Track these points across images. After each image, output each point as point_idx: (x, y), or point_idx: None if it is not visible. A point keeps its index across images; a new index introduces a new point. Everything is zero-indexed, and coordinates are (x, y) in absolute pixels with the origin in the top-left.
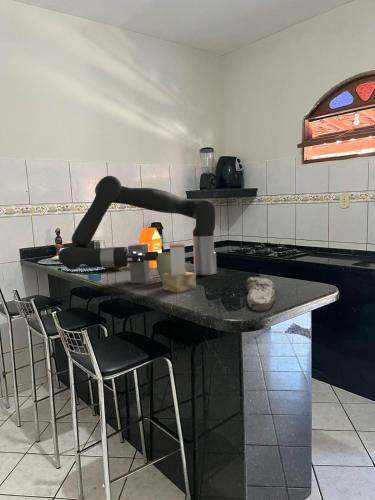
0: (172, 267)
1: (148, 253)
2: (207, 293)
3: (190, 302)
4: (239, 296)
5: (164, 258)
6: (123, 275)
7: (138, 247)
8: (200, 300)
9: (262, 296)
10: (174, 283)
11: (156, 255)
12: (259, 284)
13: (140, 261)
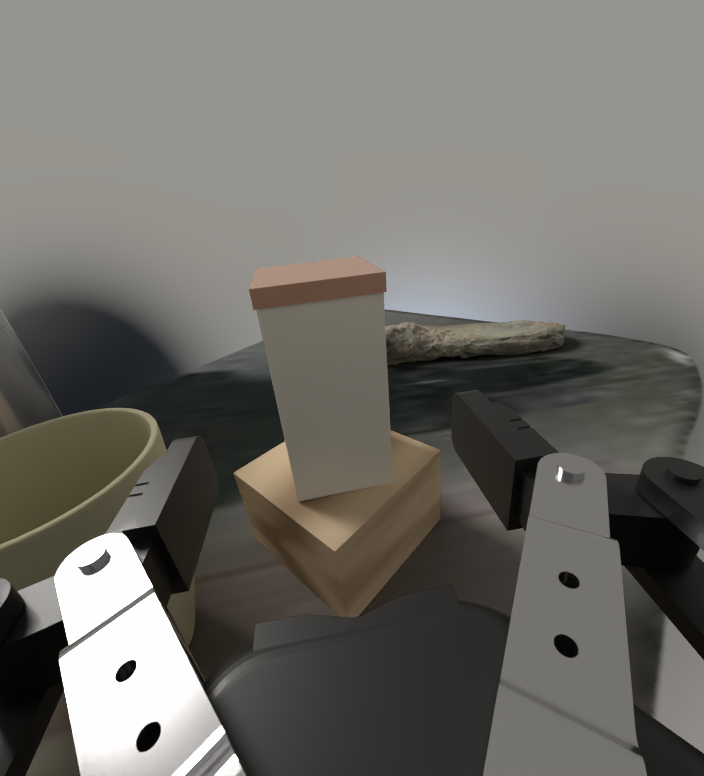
0: (387, 433)
1: (159, 548)
2: (429, 426)
3: (587, 443)
4: (447, 372)
5: None
6: None
7: None
8: (539, 426)
9: (502, 328)
10: (427, 497)
11: (208, 482)
12: (415, 329)
13: (698, 561)
